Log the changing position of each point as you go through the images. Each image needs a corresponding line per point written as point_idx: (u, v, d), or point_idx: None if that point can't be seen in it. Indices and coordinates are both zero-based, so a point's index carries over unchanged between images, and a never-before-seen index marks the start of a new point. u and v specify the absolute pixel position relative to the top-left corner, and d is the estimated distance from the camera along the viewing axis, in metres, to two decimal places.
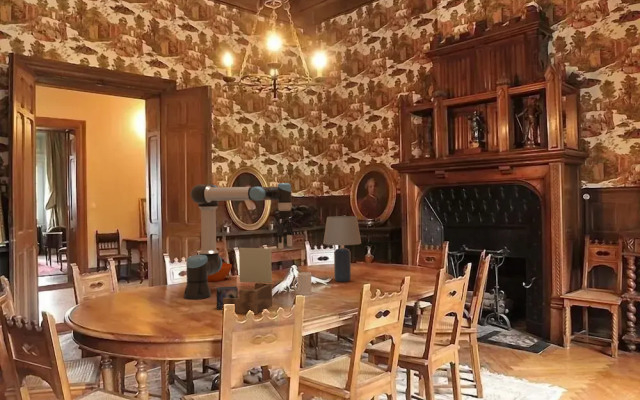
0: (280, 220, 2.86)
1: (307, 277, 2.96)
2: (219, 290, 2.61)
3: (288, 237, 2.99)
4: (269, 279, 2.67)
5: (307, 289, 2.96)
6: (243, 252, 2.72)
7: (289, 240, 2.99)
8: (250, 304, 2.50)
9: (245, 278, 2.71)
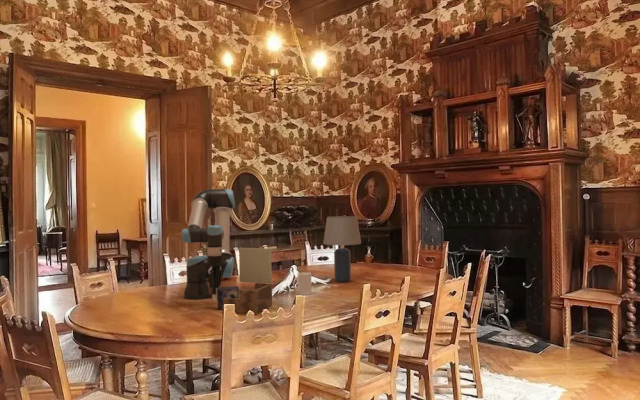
0: (209, 271, 2.61)
1: (307, 277, 2.96)
2: (220, 290, 2.61)
3: None
4: (269, 279, 2.67)
5: (307, 289, 2.96)
6: (243, 252, 2.72)
7: None
8: (250, 304, 2.50)
9: (245, 278, 2.71)
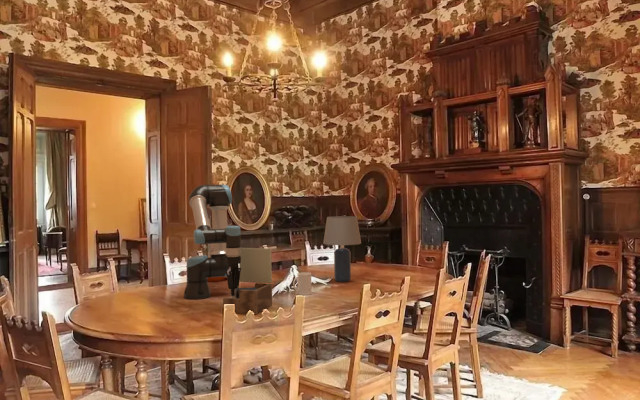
0: (227, 273, 2.58)
1: (307, 277, 2.96)
2: None
3: None
4: (269, 279, 2.67)
5: (307, 289, 2.96)
6: (243, 252, 2.72)
7: None
8: (250, 304, 2.50)
9: (245, 278, 2.71)
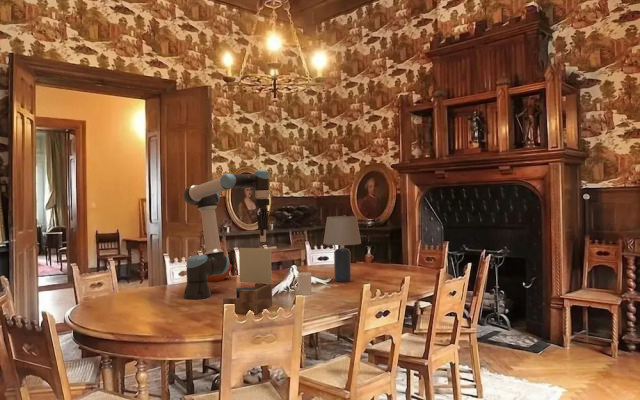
0: (257, 213, 2.74)
1: (307, 277, 2.96)
2: None
3: None
4: (269, 279, 2.67)
5: (307, 289, 2.96)
6: (243, 252, 2.72)
7: None
8: (250, 304, 2.50)
9: (245, 278, 2.71)
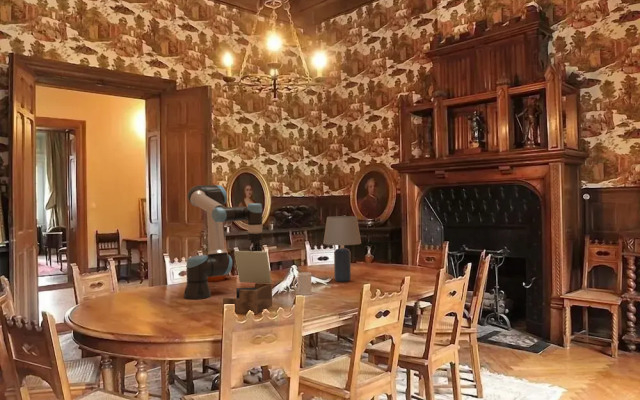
0: (250, 248, 2.65)
1: (307, 277, 2.96)
2: None
3: None
4: (269, 280, 2.67)
5: (307, 289, 2.96)
6: (239, 255, 2.67)
7: None
8: (250, 304, 2.50)
9: (245, 279, 2.71)
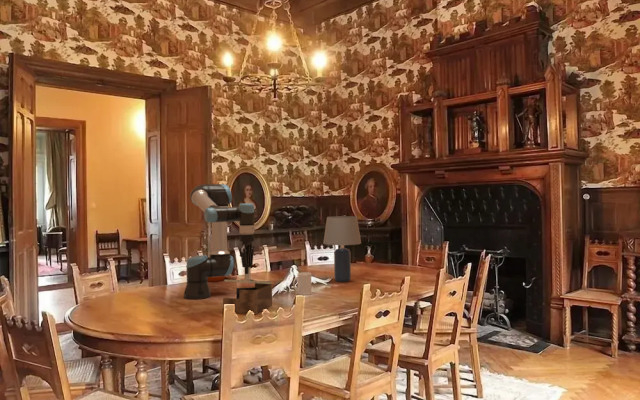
0: (241, 250, 2.55)
1: (307, 277, 2.96)
2: None
3: None
4: (268, 283, 2.66)
5: (307, 289, 2.96)
6: None
7: None
8: (250, 304, 2.50)
9: None
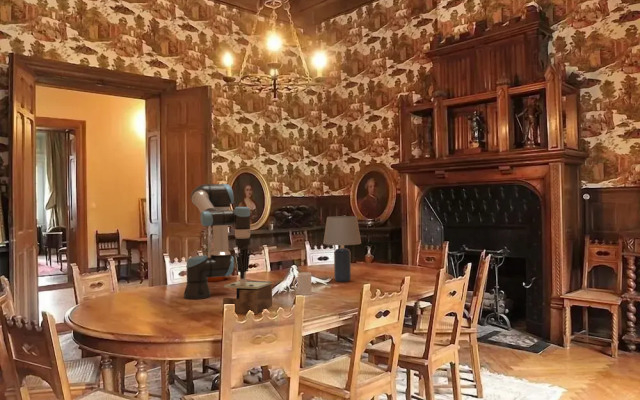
0: (237, 254, 2.50)
1: (307, 277, 2.96)
2: None
3: None
4: None
5: (307, 289, 2.96)
6: None
7: None
8: (250, 304, 2.50)
9: None
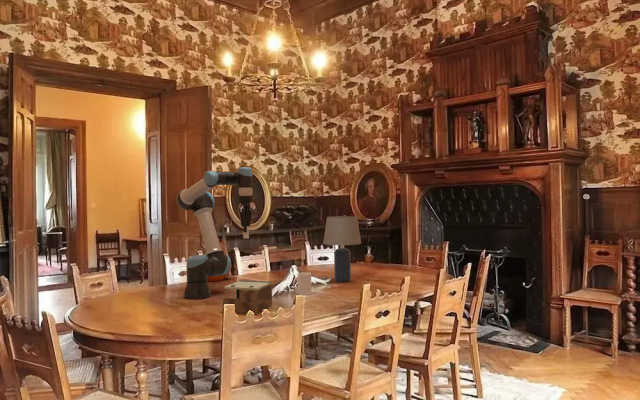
0: (240, 210, 2.77)
1: (307, 277, 2.96)
2: None
3: None
4: (268, 284, 2.66)
5: (307, 289, 2.96)
6: None
7: None
8: (250, 304, 2.50)
9: None
